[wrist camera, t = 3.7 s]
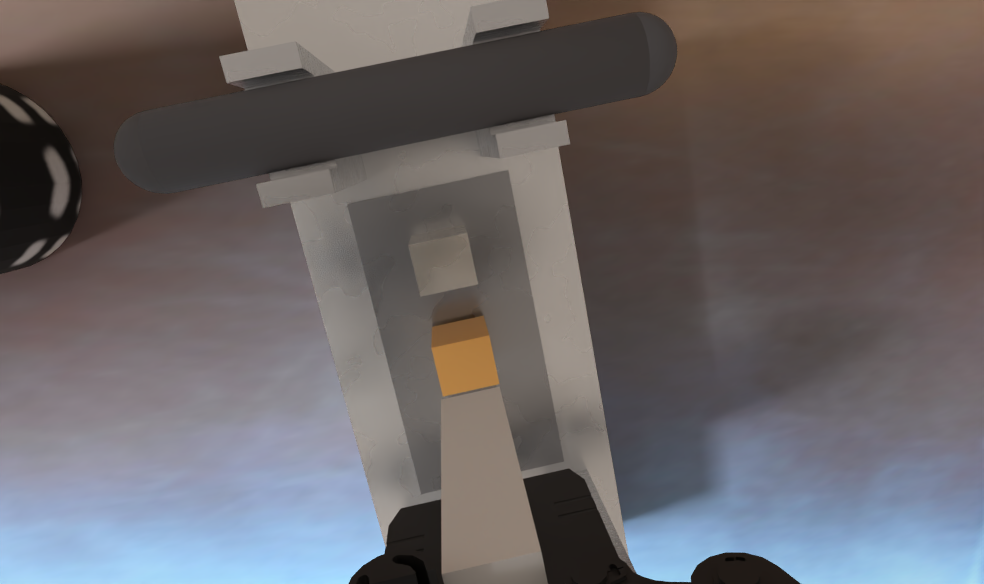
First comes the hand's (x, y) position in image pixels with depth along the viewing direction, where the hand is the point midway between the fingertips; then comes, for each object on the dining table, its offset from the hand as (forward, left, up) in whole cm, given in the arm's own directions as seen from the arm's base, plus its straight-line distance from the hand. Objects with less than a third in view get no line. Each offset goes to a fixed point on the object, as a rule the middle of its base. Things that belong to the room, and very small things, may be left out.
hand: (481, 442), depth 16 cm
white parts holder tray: (0, 0, -15) cm, 15 cm away
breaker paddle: (0, 0, -9) cm, 9 cm away
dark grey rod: (0, +9, -3) cm, 9 cm away
